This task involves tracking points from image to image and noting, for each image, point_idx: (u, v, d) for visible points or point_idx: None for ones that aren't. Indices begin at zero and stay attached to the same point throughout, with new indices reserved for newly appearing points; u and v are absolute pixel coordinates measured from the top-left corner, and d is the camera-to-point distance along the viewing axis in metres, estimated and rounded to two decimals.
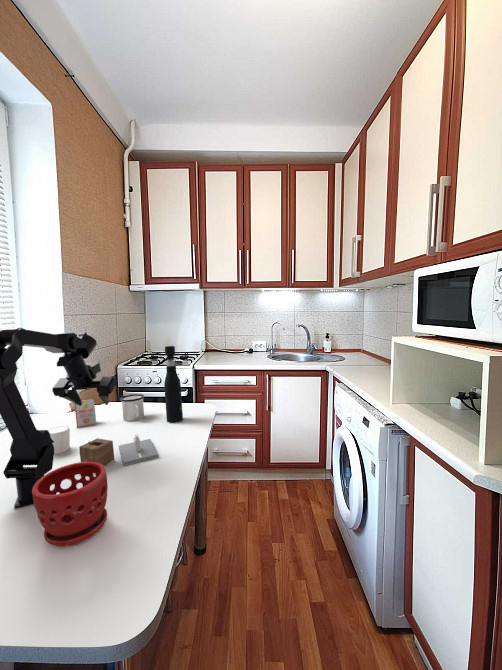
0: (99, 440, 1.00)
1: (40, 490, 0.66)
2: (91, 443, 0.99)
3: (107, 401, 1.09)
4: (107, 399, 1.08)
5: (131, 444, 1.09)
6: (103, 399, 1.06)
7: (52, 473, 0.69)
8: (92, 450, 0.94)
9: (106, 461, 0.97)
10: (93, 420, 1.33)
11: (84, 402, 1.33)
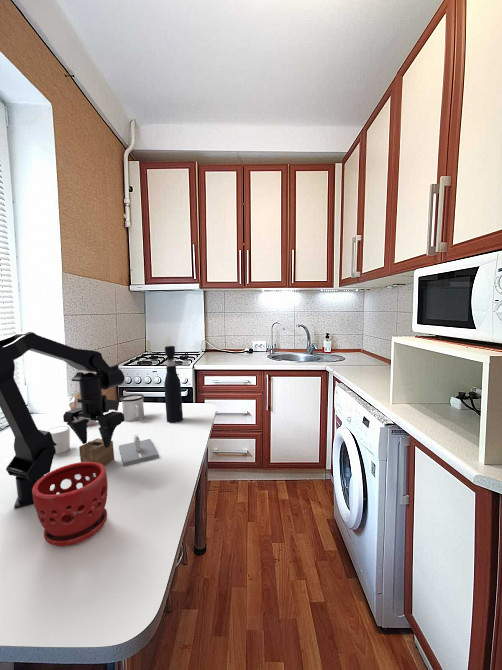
0: (99, 440, 1.00)
1: (40, 490, 0.66)
2: (91, 443, 0.99)
3: (107, 442, 0.95)
4: (108, 440, 0.95)
5: (131, 444, 1.09)
6: (102, 436, 0.94)
7: (52, 473, 0.69)
8: (92, 450, 0.94)
9: (106, 461, 0.97)
10: (93, 420, 1.33)
11: None
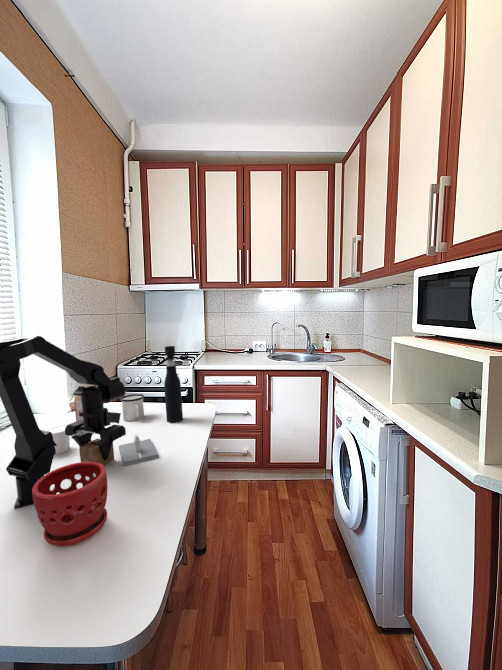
0: None
1: (40, 490, 0.66)
2: (91, 443, 0.99)
3: (106, 455, 0.96)
4: (106, 452, 0.96)
5: (131, 444, 1.09)
6: (101, 449, 0.95)
7: (52, 473, 0.69)
8: (92, 450, 0.94)
9: (106, 461, 0.97)
10: None
11: None
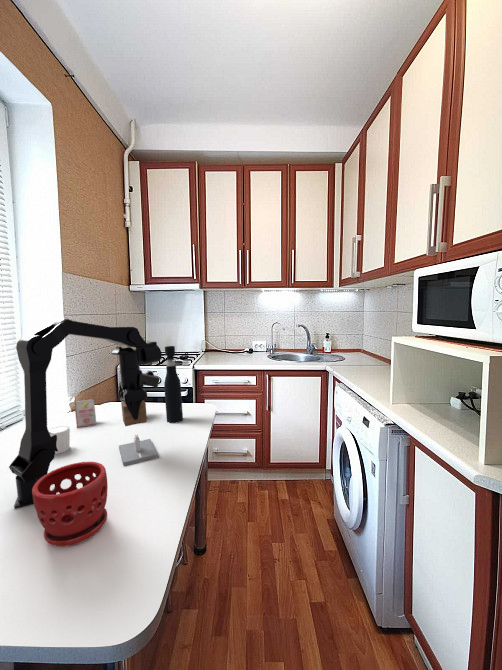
0: None
1: (40, 490, 0.66)
2: None
3: (134, 415, 1.00)
4: (134, 412, 0.99)
5: (131, 444, 1.09)
6: None
7: (52, 473, 0.69)
8: (123, 407, 1.00)
9: (137, 421, 1.01)
10: (93, 420, 1.33)
11: (84, 402, 1.33)
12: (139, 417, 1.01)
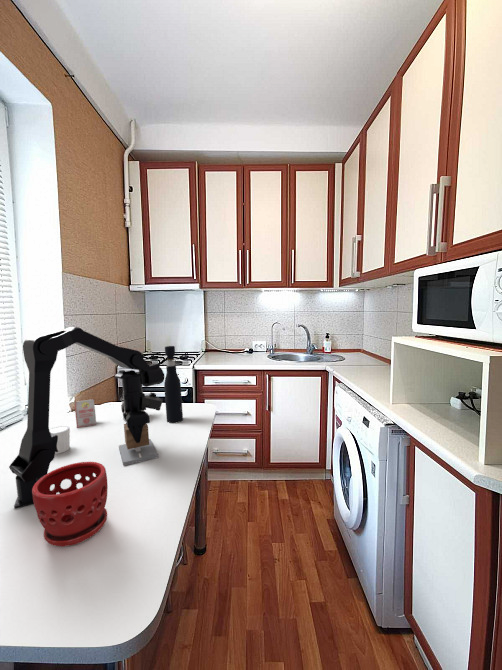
0: None
1: (40, 490, 0.66)
2: None
3: (136, 438, 1.00)
4: (137, 436, 1.00)
5: None
6: (130, 431, 0.99)
7: (52, 473, 0.69)
8: (125, 430, 1.01)
9: (139, 444, 1.01)
10: (93, 420, 1.33)
11: (84, 402, 1.33)
12: (141, 440, 1.02)
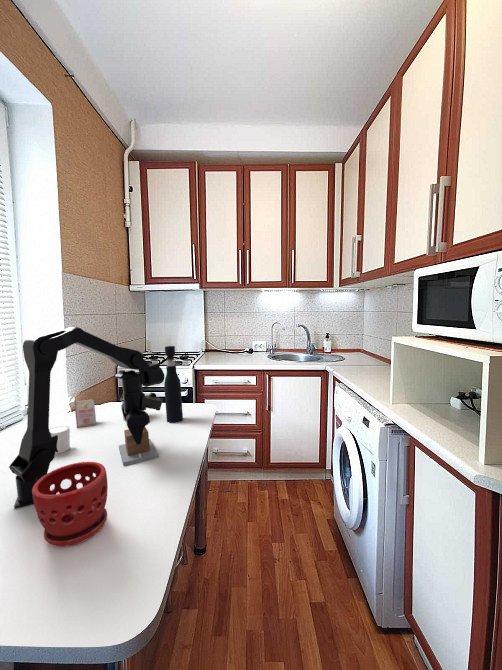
0: None
1: (40, 490, 0.66)
2: None
3: (137, 440, 0.99)
4: (137, 437, 0.99)
5: None
6: None
7: (52, 473, 0.69)
8: (126, 436, 1.01)
9: (139, 450, 1.02)
10: (93, 420, 1.33)
11: (84, 402, 1.33)
12: (142, 446, 1.02)
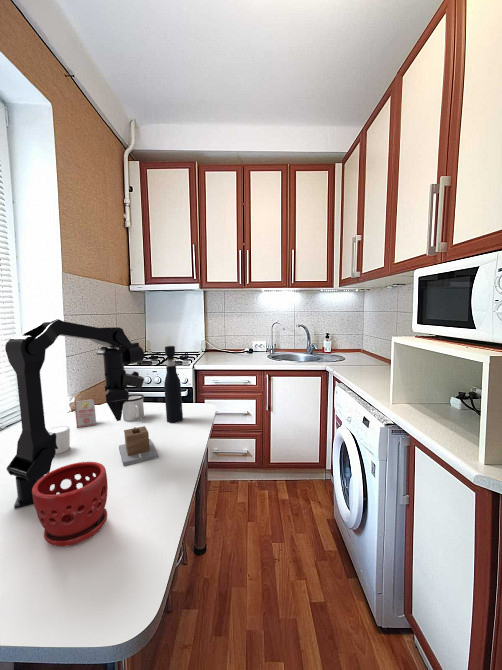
0: (142, 428, 1.06)
1: (40, 490, 0.66)
2: (135, 429, 1.06)
3: (117, 416, 0.99)
4: (117, 413, 0.99)
5: None
6: None
7: (52, 473, 0.69)
8: (126, 436, 1.01)
9: (139, 450, 1.02)
10: (93, 420, 1.33)
11: (84, 402, 1.33)
12: (142, 446, 1.02)
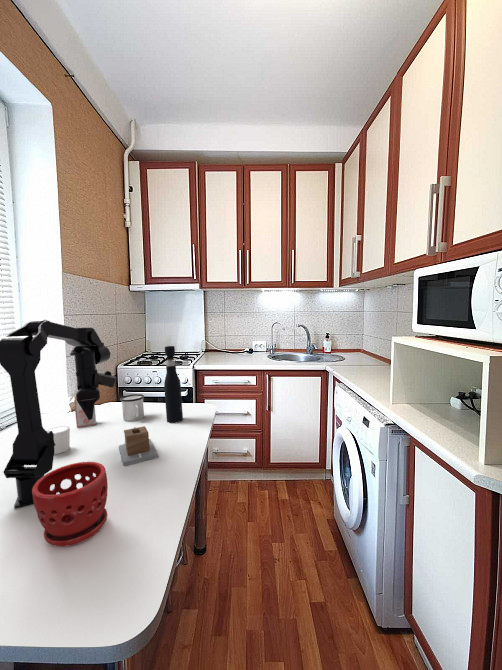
0: (142, 428, 1.06)
1: (40, 490, 0.66)
2: (135, 429, 1.06)
3: (88, 415, 1.01)
4: (88, 412, 1.01)
5: None
6: None
7: (52, 473, 0.69)
8: (126, 436, 1.01)
9: (139, 450, 1.02)
10: (93, 420, 1.33)
11: None
12: (142, 446, 1.02)
